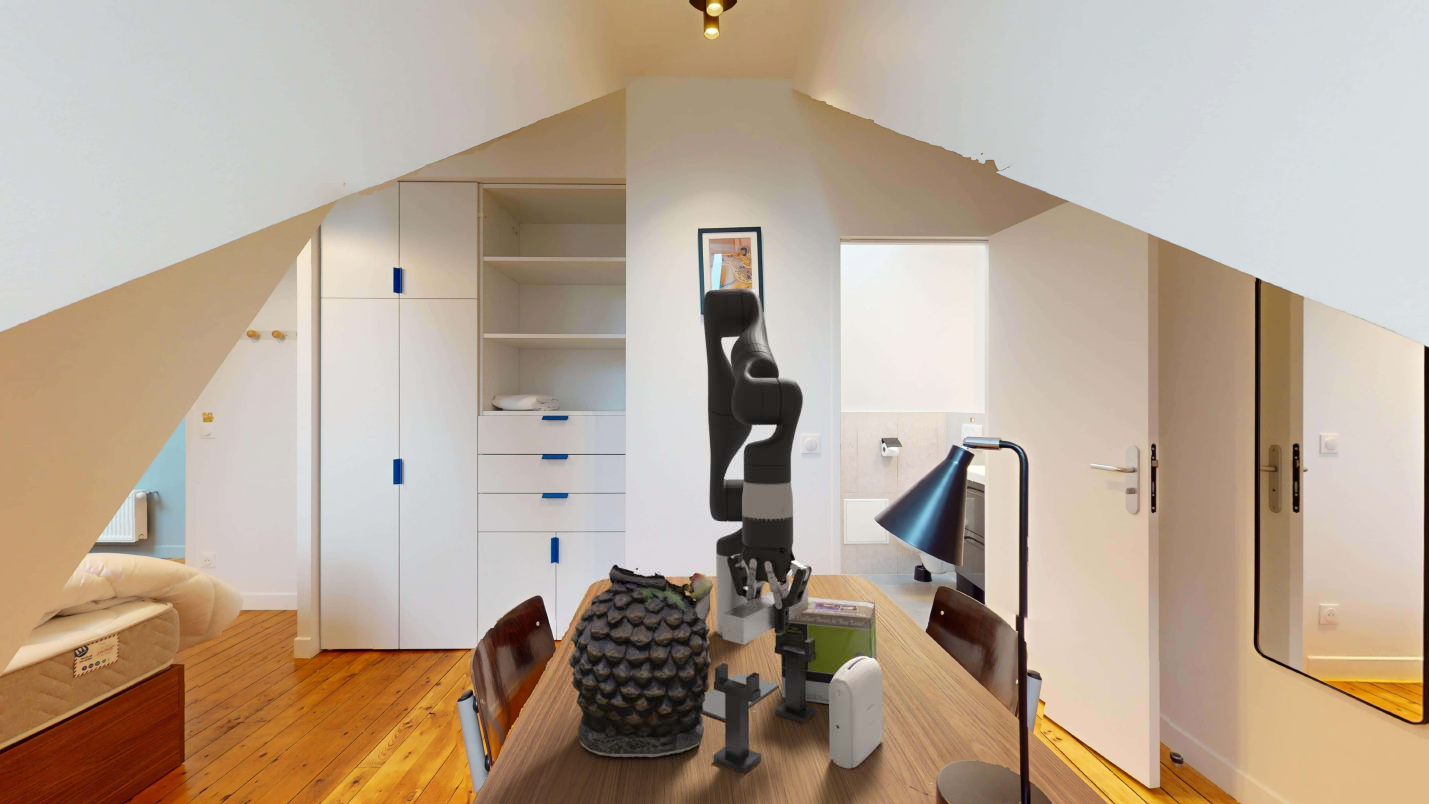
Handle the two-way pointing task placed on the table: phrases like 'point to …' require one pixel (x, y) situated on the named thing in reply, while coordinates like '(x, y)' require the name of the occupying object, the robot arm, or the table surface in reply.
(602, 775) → the table surface
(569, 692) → the table surface
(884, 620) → the table surface
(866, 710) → the photo printer
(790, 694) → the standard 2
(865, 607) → the tea box
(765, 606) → the rail
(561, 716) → the table surface
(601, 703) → the scaly pinecone sculpture
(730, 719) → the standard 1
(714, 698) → the pad
